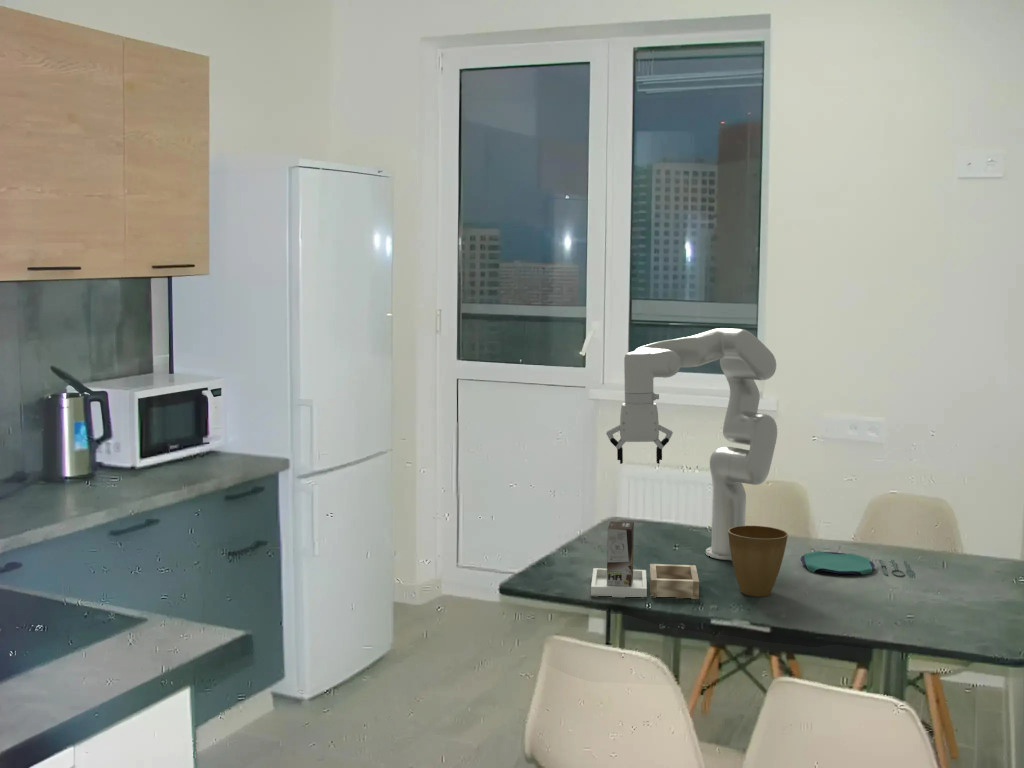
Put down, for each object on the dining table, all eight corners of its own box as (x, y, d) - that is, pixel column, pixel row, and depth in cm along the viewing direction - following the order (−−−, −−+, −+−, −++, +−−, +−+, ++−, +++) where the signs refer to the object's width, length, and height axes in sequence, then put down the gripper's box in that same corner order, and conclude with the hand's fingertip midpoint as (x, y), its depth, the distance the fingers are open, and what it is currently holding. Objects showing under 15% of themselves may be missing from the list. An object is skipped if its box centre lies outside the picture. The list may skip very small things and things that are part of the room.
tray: (645, 579, 286) (645, 569, 286) (646, 598, 269) (646, 588, 269) (593, 577, 288) (593, 568, 287) (590, 596, 271) (591, 586, 271)
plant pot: (783, 603, 265) (785, 540, 264) (723, 597, 270) (724, 535, 268) (788, 587, 279) (789, 527, 278) (730, 581, 284) (731, 522, 282)
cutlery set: (798, 555, 311) (799, 548, 311) (907, 564, 304) (908, 556, 304) (801, 575, 292) (801, 567, 291) (917, 585, 285) (918, 576, 285)
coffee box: (631, 591, 273) (632, 529, 272) (605, 589, 275) (606, 528, 273) (633, 581, 282) (634, 521, 281) (609, 579, 284) (610, 520, 282)
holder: (695, 581, 284) (695, 565, 283) (698, 599, 269) (699, 581, 268) (649, 580, 285) (649, 563, 284) (650, 597, 270) (650, 579, 270)
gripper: (671, 396, 283) (672, 459, 286) (606, 397, 285) (607, 460, 287) (673, 400, 276) (673, 465, 278) (605, 401, 278) (606, 465, 280)
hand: (639, 462), depth 283 cm, fingers open, 9 cm apart
